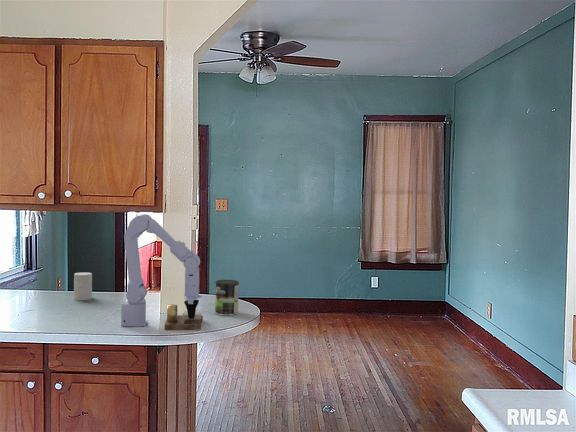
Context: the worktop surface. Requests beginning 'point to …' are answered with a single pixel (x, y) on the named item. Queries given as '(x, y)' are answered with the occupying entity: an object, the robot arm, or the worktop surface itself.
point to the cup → (83, 286)
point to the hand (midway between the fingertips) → (191, 318)
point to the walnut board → (184, 324)
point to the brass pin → (172, 313)
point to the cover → (197, 316)
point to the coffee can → (226, 297)
